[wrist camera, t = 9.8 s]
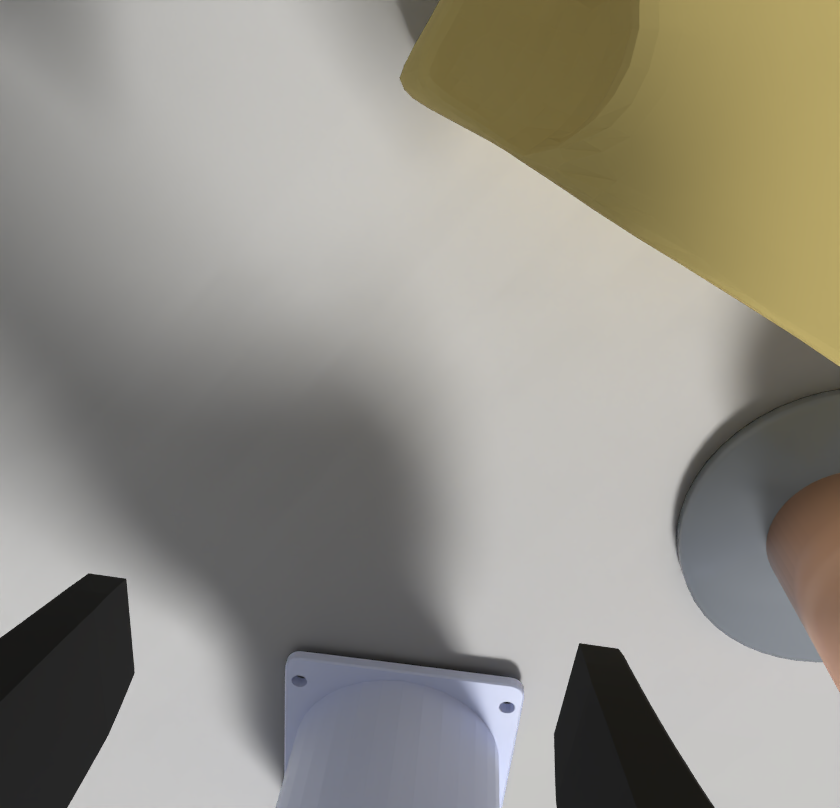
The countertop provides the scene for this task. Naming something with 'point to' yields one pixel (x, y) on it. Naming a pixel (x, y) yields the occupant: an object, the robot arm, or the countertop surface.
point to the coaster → (755, 522)
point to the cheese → (668, 128)
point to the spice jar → (811, 563)
